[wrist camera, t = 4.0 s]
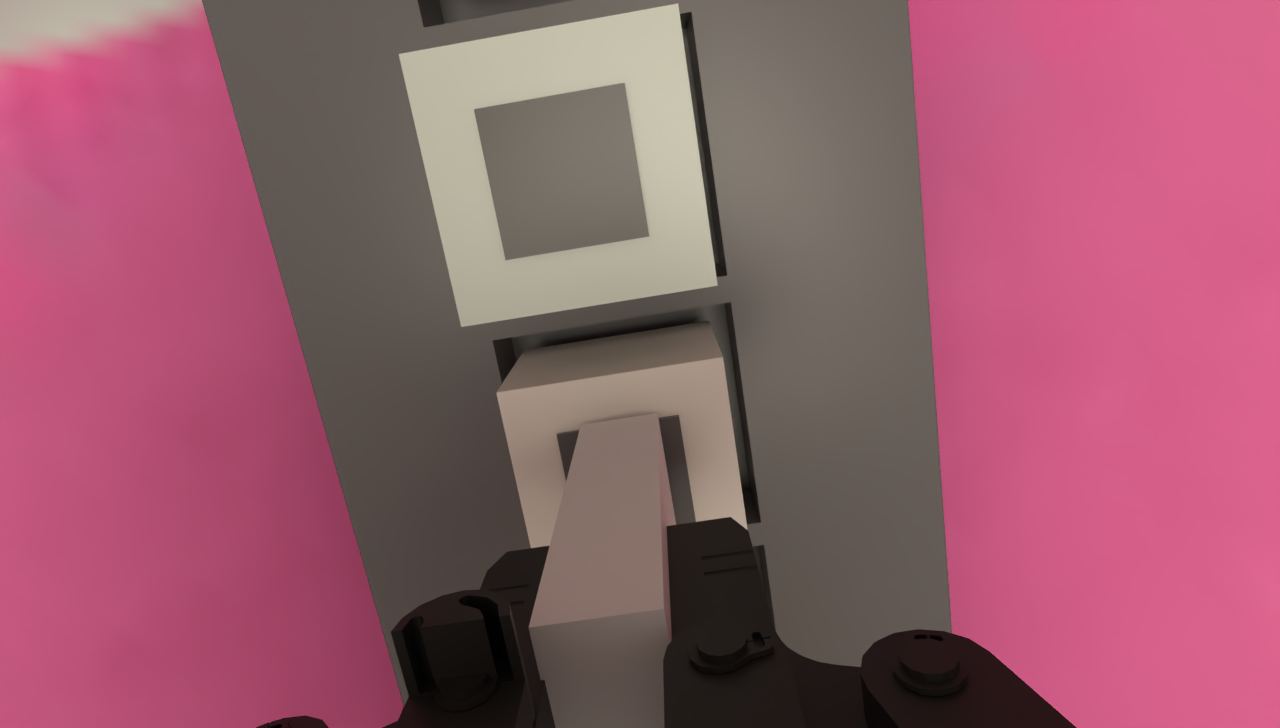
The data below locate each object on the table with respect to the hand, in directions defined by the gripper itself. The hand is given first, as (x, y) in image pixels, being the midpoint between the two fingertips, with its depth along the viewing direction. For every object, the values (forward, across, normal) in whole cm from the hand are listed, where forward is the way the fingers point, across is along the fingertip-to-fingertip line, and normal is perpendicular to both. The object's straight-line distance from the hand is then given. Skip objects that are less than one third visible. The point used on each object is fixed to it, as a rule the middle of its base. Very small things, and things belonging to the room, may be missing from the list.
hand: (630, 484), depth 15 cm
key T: (+4, 0, 0) cm, 4 cm away
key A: (+2, 0, +6) cm, 6 cm away
